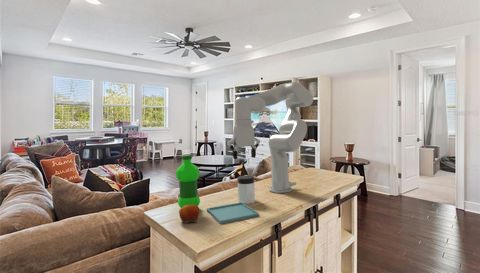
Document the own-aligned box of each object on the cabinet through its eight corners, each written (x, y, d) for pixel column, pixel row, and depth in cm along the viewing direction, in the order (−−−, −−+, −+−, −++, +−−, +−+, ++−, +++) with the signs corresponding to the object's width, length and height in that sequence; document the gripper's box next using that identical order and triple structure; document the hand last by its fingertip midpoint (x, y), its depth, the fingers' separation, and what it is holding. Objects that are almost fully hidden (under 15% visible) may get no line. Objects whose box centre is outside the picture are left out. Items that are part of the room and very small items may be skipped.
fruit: (182, 224, 97) (179, 203, 100) (179, 228, 103) (177, 208, 107) (203, 220, 100) (200, 200, 104) (199, 224, 107) (196, 205, 110)
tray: (241, 204, 122) (241, 202, 122) (258, 216, 107) (258, 213, 107) (207, 211, 115) (206, 208, 115) (220, 224, 100) (219, 220, 100)
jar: (243, 205, 122) (242, 179, 121) (234, 201, 129) (233, 177, 128) (258, 201, 127) (258, 177, 126) (249, 197, 134) (248, 174, 133)
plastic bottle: (191, 214, 111) (188, 157, 110) (173, 211, 116) (170, 156, 115) (205, 207, 120) (202, 154, 119) (187, 205, 125) (185, 153, 124)
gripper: (255, 122, 133) (256, 156, 133) (224, 123, 126) (225, 158, 126) (262, 122, 126) (263, 157, 127) (229, 123, 119) (231, 160, 119)
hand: (244, 158), depth 126 cm, fingers open, 9 cm apart
